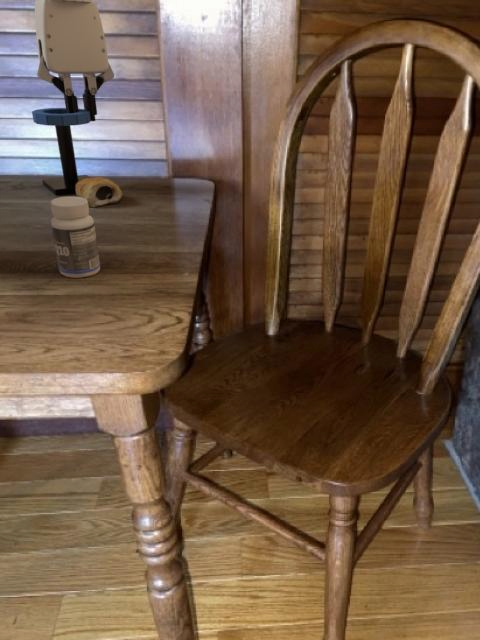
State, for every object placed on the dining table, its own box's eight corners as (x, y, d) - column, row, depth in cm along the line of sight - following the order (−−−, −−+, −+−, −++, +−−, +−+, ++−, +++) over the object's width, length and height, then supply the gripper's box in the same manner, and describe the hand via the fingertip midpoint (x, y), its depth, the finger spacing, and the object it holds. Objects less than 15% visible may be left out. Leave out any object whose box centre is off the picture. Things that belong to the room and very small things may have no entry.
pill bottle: (53, 269, 68) (39, 198, 64) (90, 261, 71) (80, 192, 67) (69, 282, 65) (56, 208, 61) (107, 272, 68) (97, 202, 64)
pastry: (67, 195, 96) (63, 172, 94) (105, 190, 100) (103, 168, 98) (87, 208, 90) (84, 184, 88) (128, 203, 93) (125, 179, 91)
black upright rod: (55, 195, 96) (43, 125, 90) (42, 185, 101) (30, 118, 96) (102, 190, 100) (93, 122, 94) (87, 180, 105) (78, 115, 100)
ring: (42, 127, 90) (40, 116, 89) (28, 119, 96) (26, 109, 95) (97, 124, 94) (96, 113, 93) (80, 116, 100) (79, 107, 99)
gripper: (107, -7, 94) (120, 115, 103) (4, -13, 86) (28, 119, 95) (124, -7, 88) (135, 121, 98) (16, -14, 81) (40, 126, 90)
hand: (82, 119), depth 97 cm, fingers closed on ring, 2 cm apart
